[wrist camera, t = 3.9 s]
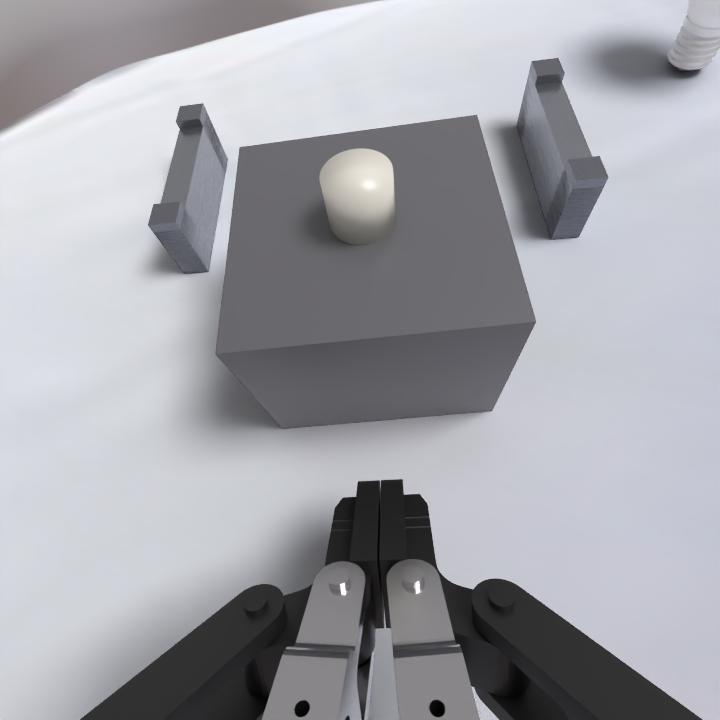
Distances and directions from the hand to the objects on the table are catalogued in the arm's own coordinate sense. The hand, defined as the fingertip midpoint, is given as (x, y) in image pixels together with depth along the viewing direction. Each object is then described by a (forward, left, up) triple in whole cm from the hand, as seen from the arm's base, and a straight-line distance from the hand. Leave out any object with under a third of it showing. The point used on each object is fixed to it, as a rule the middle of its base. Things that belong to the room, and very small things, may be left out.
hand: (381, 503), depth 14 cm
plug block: (0, +9, -5) cm, 10 cm away
